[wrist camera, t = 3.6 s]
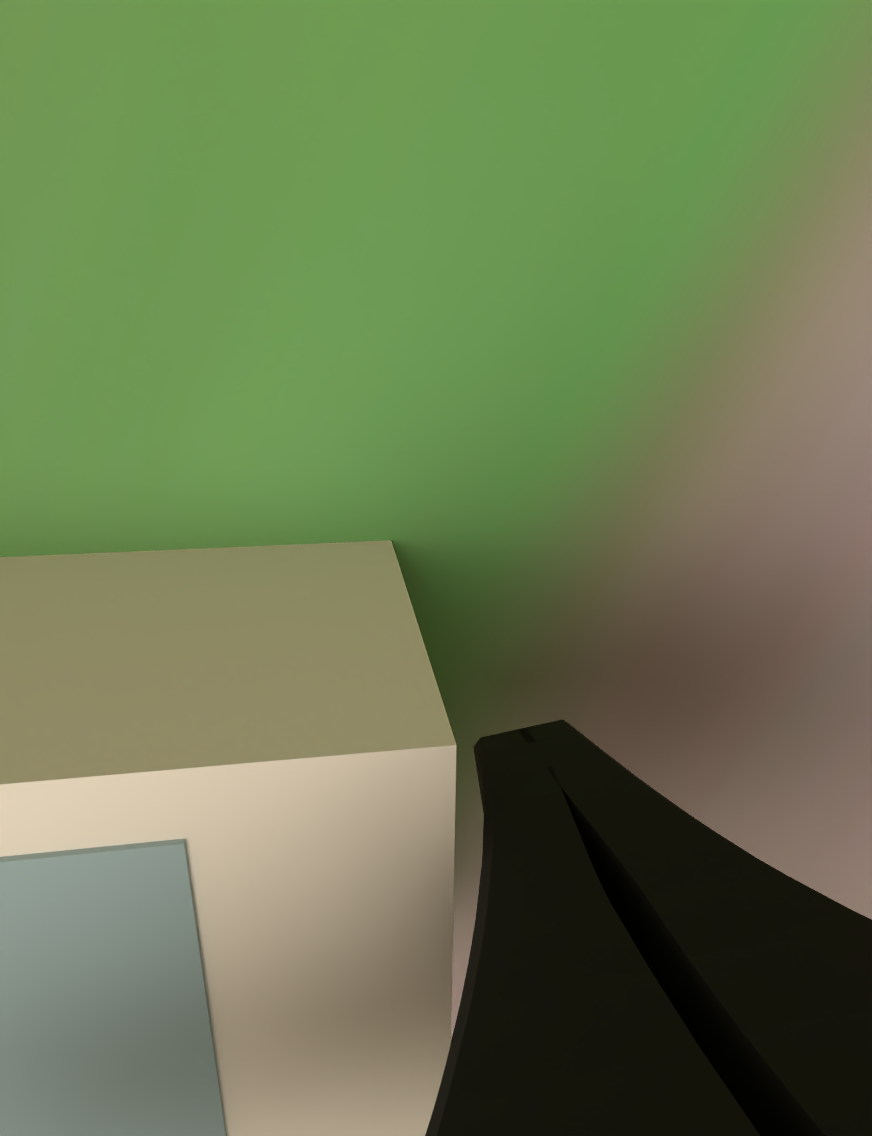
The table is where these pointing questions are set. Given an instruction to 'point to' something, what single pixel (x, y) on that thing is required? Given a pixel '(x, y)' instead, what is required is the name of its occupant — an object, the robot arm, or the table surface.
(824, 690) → the table surface
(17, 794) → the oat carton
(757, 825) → the table surface
